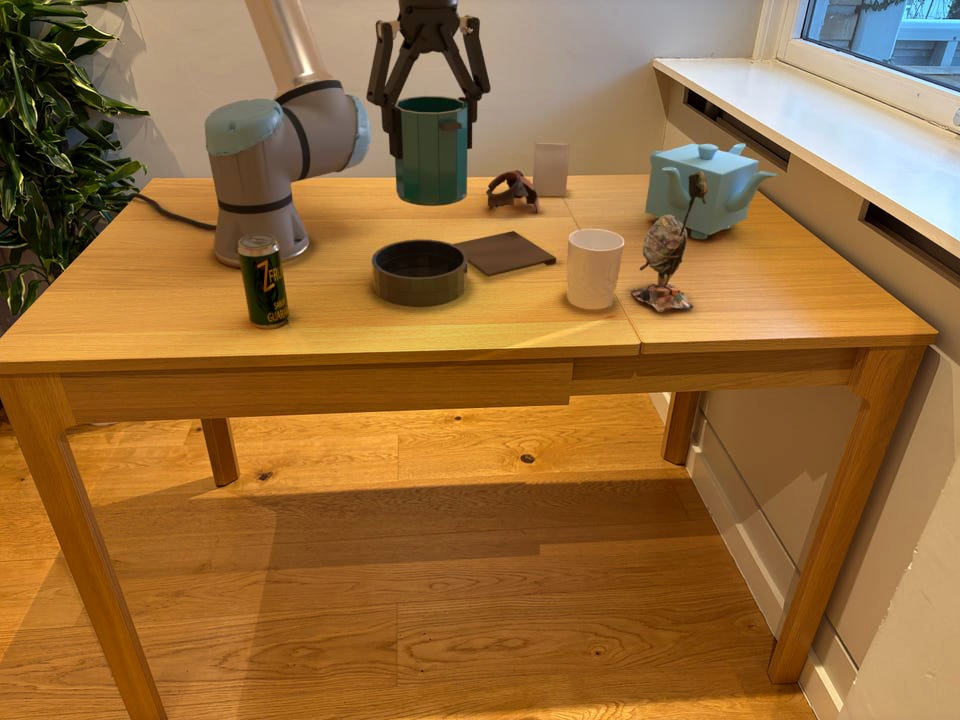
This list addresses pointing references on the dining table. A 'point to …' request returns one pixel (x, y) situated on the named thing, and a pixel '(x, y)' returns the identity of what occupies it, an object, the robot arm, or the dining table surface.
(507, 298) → the dining table surface
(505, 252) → the trivet
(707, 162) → the teakettle
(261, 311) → the green soda can
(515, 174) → the brown arched frame
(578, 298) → the white cup
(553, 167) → the white upright block
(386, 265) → the pan
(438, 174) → the pot
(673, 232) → the brown figurine
